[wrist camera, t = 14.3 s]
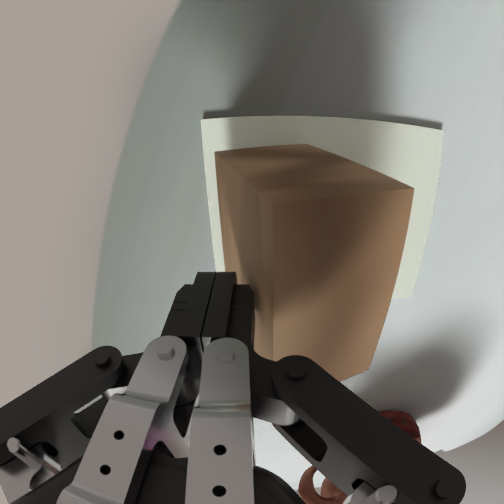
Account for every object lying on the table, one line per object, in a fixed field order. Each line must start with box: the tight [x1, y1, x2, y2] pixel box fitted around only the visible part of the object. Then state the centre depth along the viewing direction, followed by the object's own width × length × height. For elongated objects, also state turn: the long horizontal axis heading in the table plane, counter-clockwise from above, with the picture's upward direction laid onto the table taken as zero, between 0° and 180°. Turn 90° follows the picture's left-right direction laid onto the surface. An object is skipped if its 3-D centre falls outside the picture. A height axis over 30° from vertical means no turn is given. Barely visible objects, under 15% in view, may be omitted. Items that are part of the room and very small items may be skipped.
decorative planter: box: [298, 411, 421, 504], centre depth 25 cm, size 20×12×14 cm, turn 69°
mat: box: [201, 116, 444, 298], centre depth 18 cm, size 14×12×1 cm
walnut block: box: [214, 144, 414, 381], centre depth 14 cm, size 5×9×8 cm, turn 2°
